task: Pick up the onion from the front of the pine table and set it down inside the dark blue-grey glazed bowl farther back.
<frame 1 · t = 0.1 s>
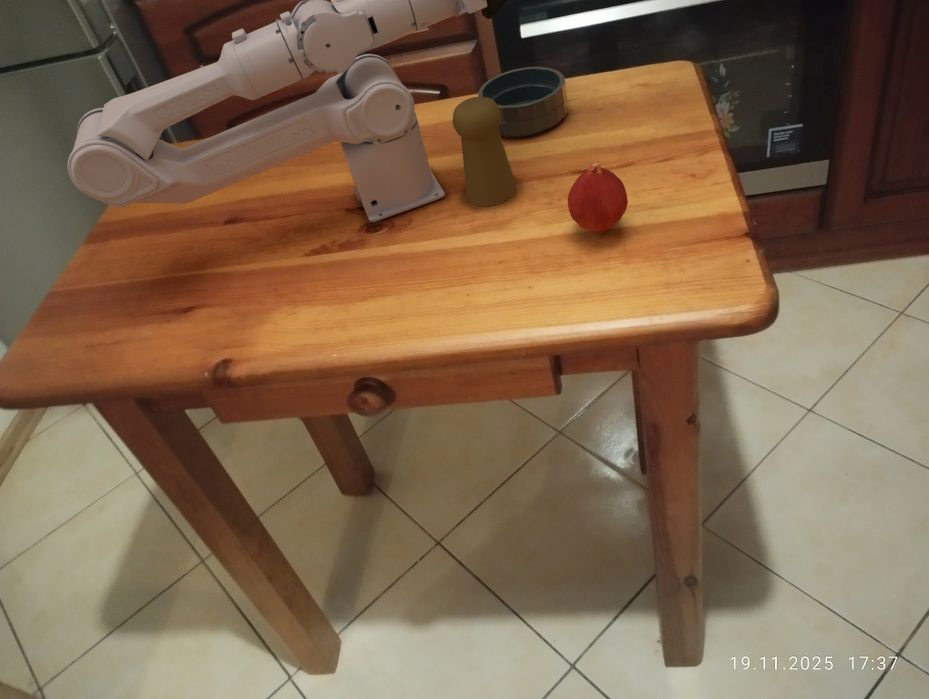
bowl: (525, 118, 90), on the table
onion: (599, 233, 70), on the table
olive pawn: (491, 193, 79), on the table
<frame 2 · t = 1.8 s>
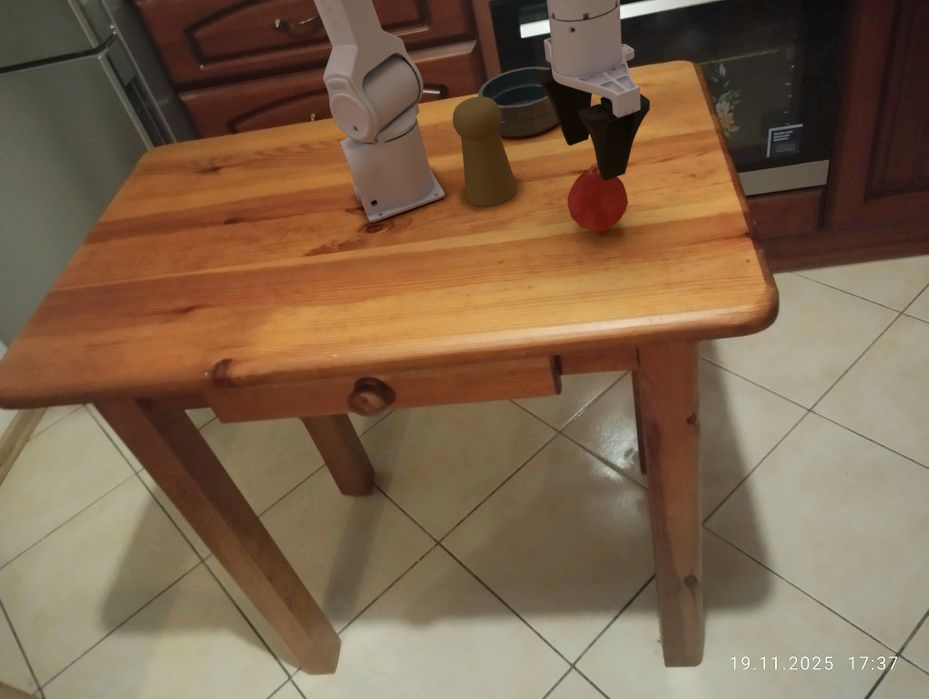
hand: (594, 157, 64), 9 cm above the table, tool pointing down, fingers open, 7 cm apart
nothing on the table moved.
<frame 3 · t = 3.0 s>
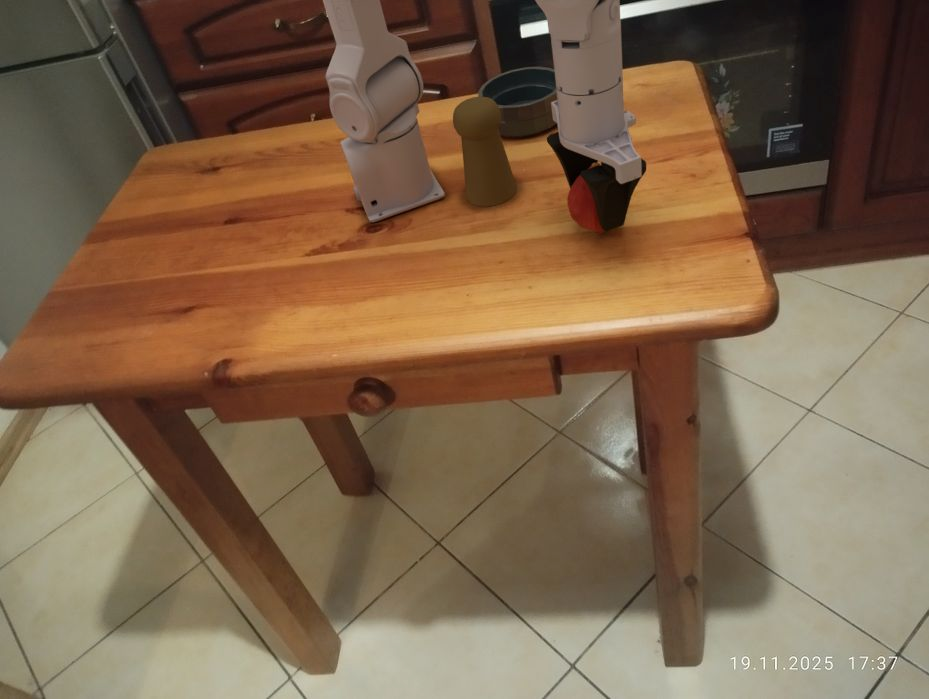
hand: (598, 211, 68), 2 cm above the table, tool pointing down, fingers closed on onion, 6 cm apart
onion: (599, 232, 70), on the table, touching gripper
everything else where it was.
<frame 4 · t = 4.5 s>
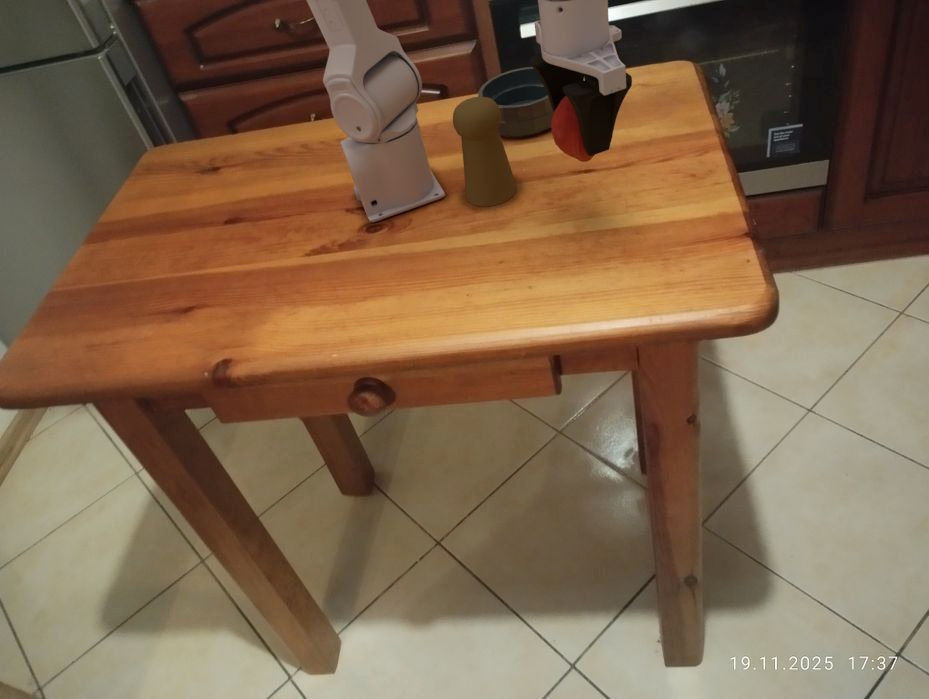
hand: (583, 137, 65), 9 cm above the table, tool pointing down, fingers closed on onion, 6 cm apart
onion: (584, 162, 67), point 7 cm above the table, touching gripper
everything else where it was.
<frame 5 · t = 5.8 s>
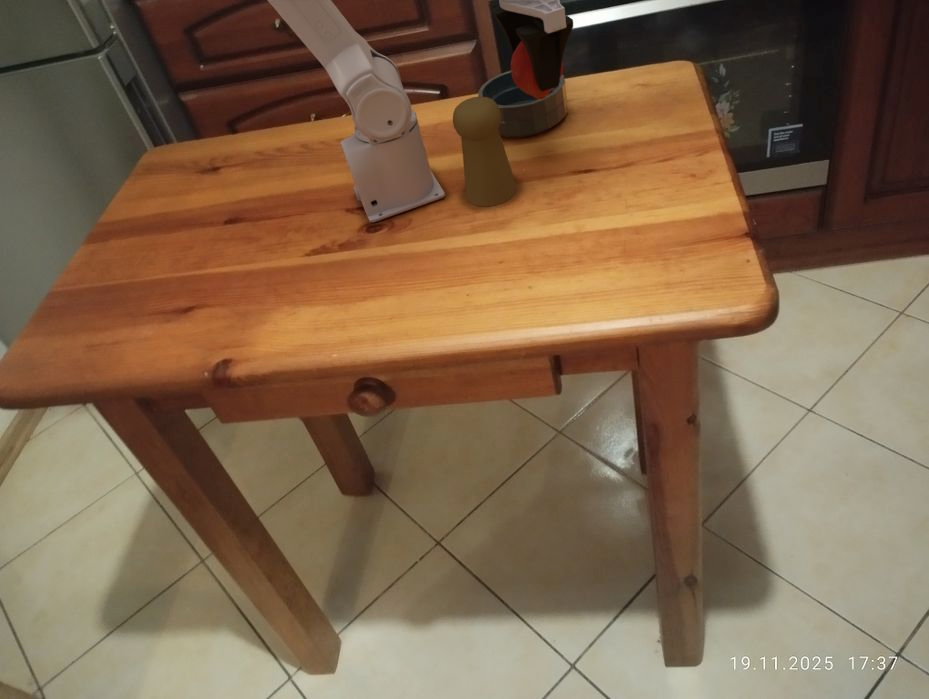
hand: (538, 78, 76), 9 cm above the table, tool pointing down, fingers closed on onion, 6 cm apart
onion: (540, 100, 78), point 7 cm above the table, touching gripper
everything else where it was.
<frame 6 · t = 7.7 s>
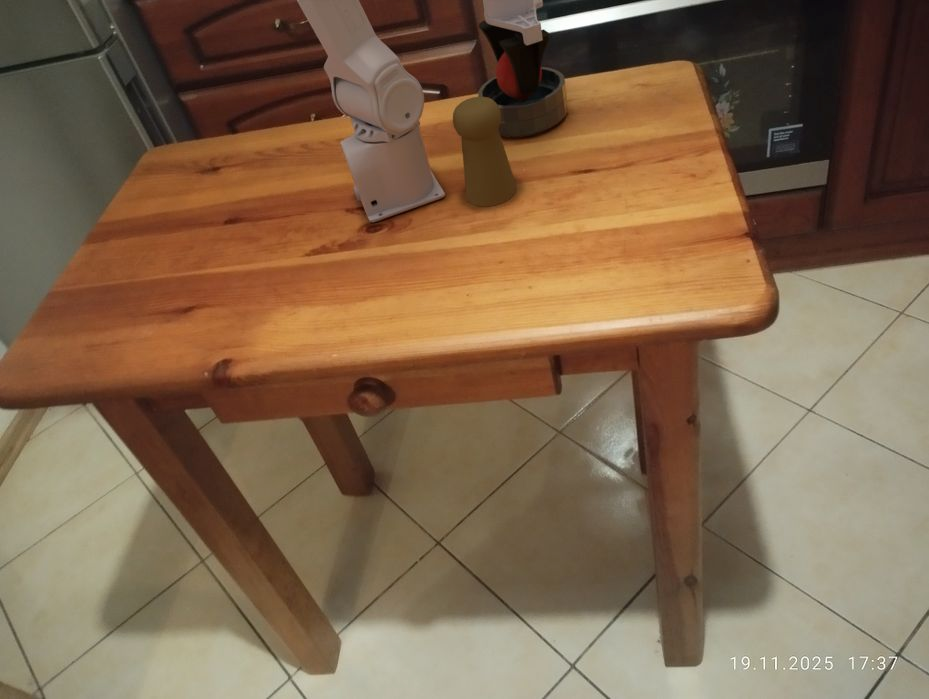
hand: (520, 83, 87), 5 cm above the table, tool pointing down, fingers closed on onion, 6 cm apart
onion: (523, 102, 88), point 2 cm above the table, touching gripper
everything else where it was.
when the fingers open (3 cm above the table, at t = 8.9 s): onion stays where it is, resting on bowl.
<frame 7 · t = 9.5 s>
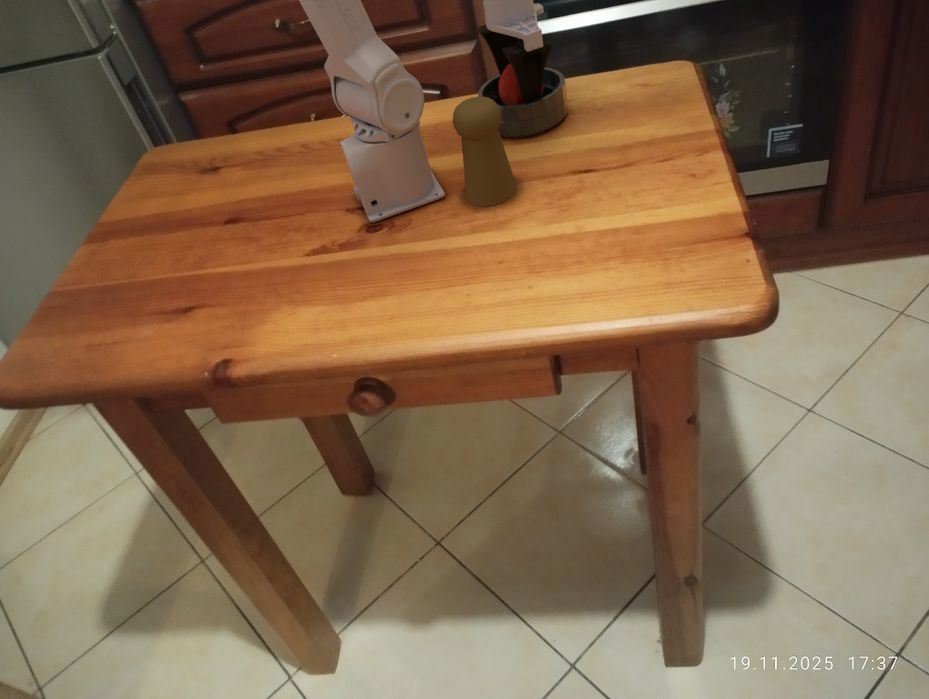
hand: (521, 88, 87), 4 cm above the table, tool pointing down, fingers open, 7 cm apart
onion: (525, 115, 90), resting on bowl
everything else where it was.
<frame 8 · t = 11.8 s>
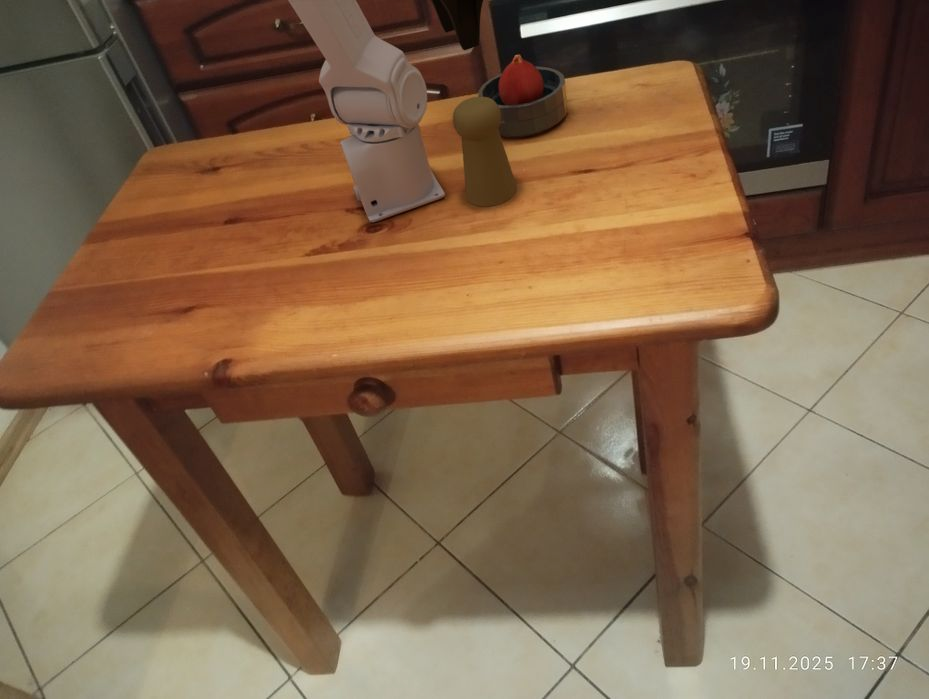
hand: (461, 38, 87), 10 cm above the table, tool pointing down, fingers open, 7 cm apart
nothing on the table moved.
at the end: onion inside the target area in the bowl (0.0 cm from its centre), point 0.4 cm above the bowl's base; the gripper is holding nothing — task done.
